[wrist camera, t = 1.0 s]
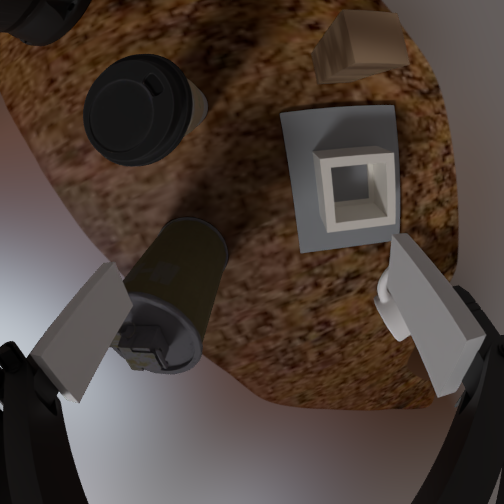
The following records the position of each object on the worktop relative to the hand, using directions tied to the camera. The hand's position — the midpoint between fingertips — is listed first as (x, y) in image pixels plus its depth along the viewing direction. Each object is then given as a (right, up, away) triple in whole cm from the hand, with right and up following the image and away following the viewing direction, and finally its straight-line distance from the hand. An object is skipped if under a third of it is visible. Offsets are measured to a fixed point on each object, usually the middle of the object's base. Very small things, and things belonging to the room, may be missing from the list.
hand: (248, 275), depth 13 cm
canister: (-9, +1, +27) cm, 28 cm away
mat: (+12, +10, +20) cm, 26 cm away
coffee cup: (-8, +18, +18) cm, 27 cm away
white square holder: (+12, +10, +20) cm, 25 cm away
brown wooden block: (+9, +22, +14) cm, 28 cm away
